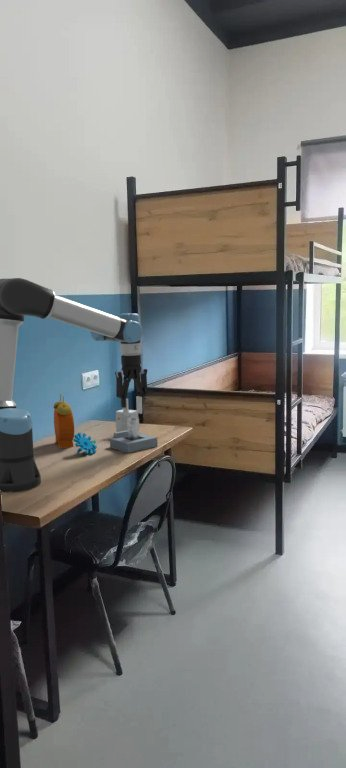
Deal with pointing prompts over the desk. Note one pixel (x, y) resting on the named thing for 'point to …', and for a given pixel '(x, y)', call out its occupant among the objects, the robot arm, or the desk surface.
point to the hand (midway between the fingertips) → (132, 414)
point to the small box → (124, 419)
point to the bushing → (133, 428)
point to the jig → (132, 442)
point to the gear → (85, 443)
